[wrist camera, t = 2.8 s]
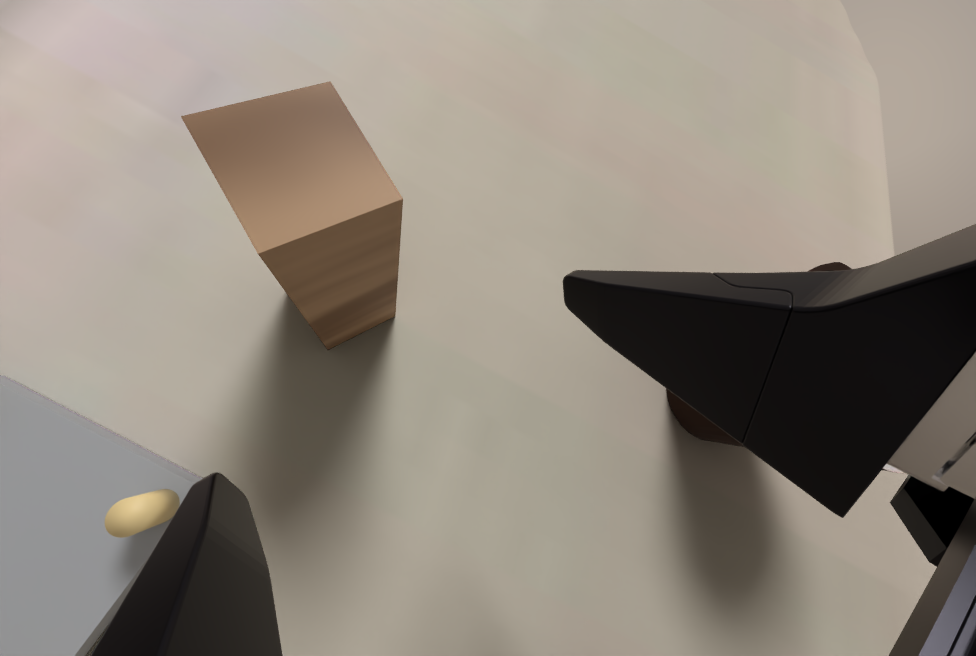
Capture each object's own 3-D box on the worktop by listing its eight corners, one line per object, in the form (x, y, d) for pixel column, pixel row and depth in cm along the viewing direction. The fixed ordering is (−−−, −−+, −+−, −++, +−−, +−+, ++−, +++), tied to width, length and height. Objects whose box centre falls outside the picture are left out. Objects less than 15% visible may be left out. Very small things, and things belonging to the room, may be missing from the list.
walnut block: (395, 316, 22) (402, 198, 11) (328, 350, 21) (258, 253, 10) (358, 254, 23) (330, 81, 11) (290, 283, 21) (181, 116, 10)
